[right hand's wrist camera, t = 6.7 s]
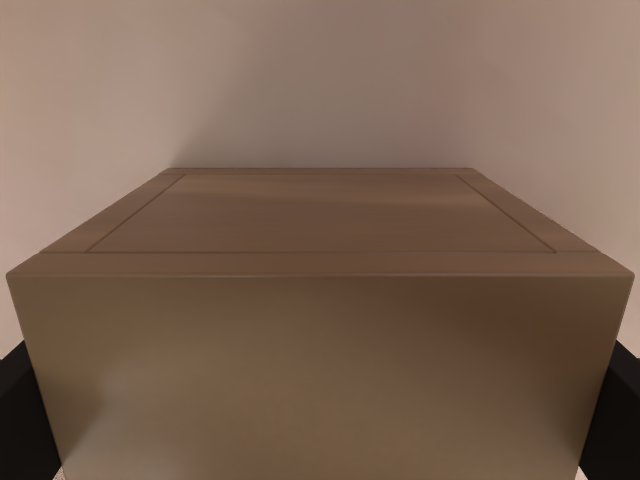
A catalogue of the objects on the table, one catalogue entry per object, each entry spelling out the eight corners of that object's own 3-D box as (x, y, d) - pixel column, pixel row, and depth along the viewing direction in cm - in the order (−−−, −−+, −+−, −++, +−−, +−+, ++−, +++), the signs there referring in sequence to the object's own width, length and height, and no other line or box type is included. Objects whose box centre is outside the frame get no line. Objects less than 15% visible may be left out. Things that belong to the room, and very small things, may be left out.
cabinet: (431, 487, 22) (498, 740, 14) (208, 487, 22) (141, 740, 14) (473, 168, 16) (638, 272, 8) (167, 167, 16) (2, 273, 8)
